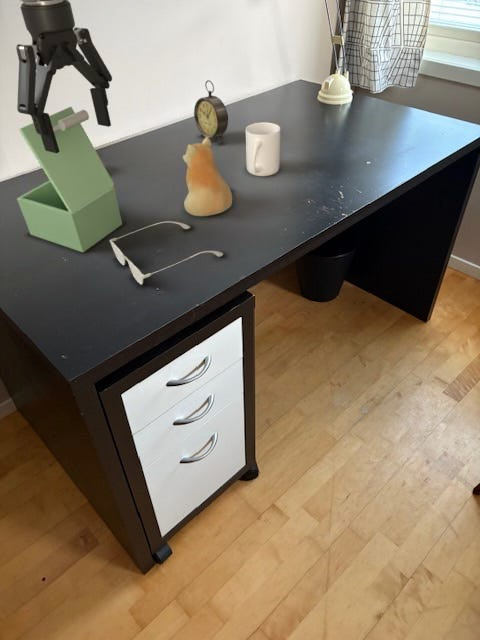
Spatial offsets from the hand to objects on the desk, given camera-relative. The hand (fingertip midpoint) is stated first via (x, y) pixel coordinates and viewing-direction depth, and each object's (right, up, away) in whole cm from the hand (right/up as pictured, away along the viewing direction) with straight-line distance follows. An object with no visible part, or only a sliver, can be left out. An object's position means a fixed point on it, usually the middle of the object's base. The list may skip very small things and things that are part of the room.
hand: (79, 137), depth 88 cm
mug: (+35, +5, +36) cm, 50 cm away
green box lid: (-4, -2, +5) cm, 7 cm away
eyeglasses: (+15, -21, +9) cm, 27 cm away
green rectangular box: (-7, -14, +18) cm, 23 cm away
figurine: (+22, -6, +25) cm, 34 cm away
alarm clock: (+22, +20, +54) cm, 61 cm away
